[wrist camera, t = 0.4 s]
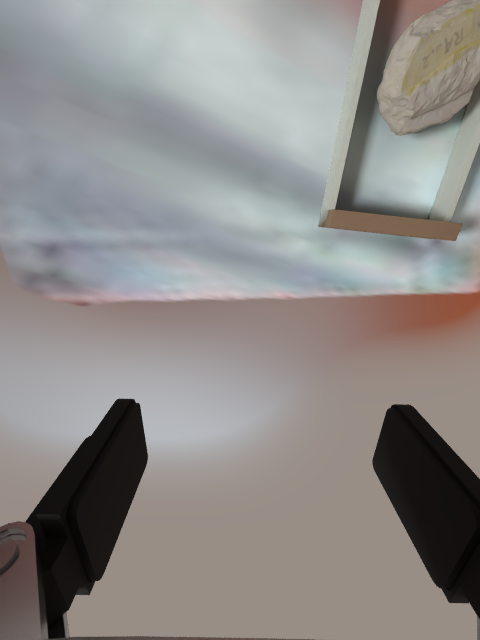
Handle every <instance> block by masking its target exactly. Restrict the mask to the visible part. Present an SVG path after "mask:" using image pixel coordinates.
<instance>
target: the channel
mask: <svg viewBox="0 0 480 640" xmlns="http://www.w3.org/2000/svg"><path fill="white" fill-rule="evenodd" d="M379 3H380V0H363V4H362V9H361V14H360V19H359V24H358V29H357V34H356V39H355V44H354V49H353V54H352V59H351V64H350V69H349V74H348V79H347V84H346V89H345V94H344V99H343V104H342V109H341V114H340V119H339V124H338V129H337V134H336V139H335V144H334V149H333V155H332V160H331V165H330V170H329V175H328V180H327V185H326V190H325V195H324V200H323V205H322V210H321V215H320V220H319V225H318V227H326V228H335V229H344V230H354V231H363V232H372V233H382V234H391V235H400V236H410V237H419V238H429V239H440V240H451V241H456V239H457V236H458V234H459V231H460V228H461V226H462V223H453V222H450V221H451V218H452V216H453V213H454V210H455V208H456V205H457V202H458V200H459V197H460V194H461V192H462V189H463V186H464V184H465V181H466V178H467V176H468V173H469V170H470V168H471V165H472V162H473V160H474V157H475V154H476V152H477V149H478V146H479V144H480V80H479V82H478V83H477V85H476V86H475V87H474V90H473V92H472V95H471V98H470V101H469V103H468V106H467V109H466V112H465V115H464V117H463V120H462V123H461V126H460V129H459V132H458V135H457V138H456V141H455V144H454V146H453V149H452V152H451V155H450V158H449V161H448V164H447V167H446V170H445V173H444V176H443V178H442V181H441V184H440V187H439V190H438V193H437V196H436V199H435V202H434V205H433V208H432V210H431V213H430V216H429V219H428V220H426V219H417V218H408V217H398V216H389V215H380V214H371V213H362V212H353V211H344V210H335V206H336V202H337V197H338V193H339V188H340V183H341V179H342V174H343V169H344V165H345V160H346V156H347V151H348V146H349V142H350V137H351V132H352V128H353V123H354V119H355V114H356V109H357V105H358V100H359V95H360V91H361V86H362V82H363V77H364V72H365V68H366V63H367V58H368V54H369V49H370V45H371V40H372V35H373V31H374V26H375V21H376V17H377V12H378V8H379Z"/></svg>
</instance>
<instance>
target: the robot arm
mask: <svg viewBox="0 0 480 640" xmlns="http://www.w3.org/2000/svg"><path fill="white" fill-rule="evenodd" d="M147 460H148V453H147V447H146V442H145V434H144V428H143V421H142V416H141V409H140V404H139V403H136V402H135V400H134V399H117V400H116V401H115V403H114V404H113V405H112V407H111V408H110V410H109V411H108V413H107V414H106V415H105V417H104V418H103V420H102V421H101V422H100V424H99V425H98V427H97V428H96V430H95V431H94V432H93V434H92V435H91V436H89V437H88V438H86V439H85V440H84V441H83V443H82V444H81V445H80V447H79V448H78V450H77V451H76V452H75V454H74V455H73V456H72V458H71V459H70V461H69V462H68V463H67V465H66V466H65V468H64V469H63V470H62V472H61V473H60V475H59V476H58V477H57V479H56V480H55V481H54V483H53V484H52V486H51V487H50V488H49V490H48V491H47V493H46V494H45V496H44V497H43V498H42V500H41V501H40V502H39V504H38V505H37V507H36V508H35V509H34V511H33V512H32V513H31V515H30V516H29V518H28V519H27V520H26V522H20V521H18V522H13V523H8V524H6V525H4V526H1V527H0V640H311V639H266V638H210V637H208V638H207V637H148V636H134V637H133V636H130V637H128V636H127V637H69V629H68V621H67V614H66V611H68V610H69V608H70V606H71V603H72V602H73V599H74V597H75V595H90V593H91V590H92V588H93V585H94V583H95V581H99V580H100V579H101V578H102V576H103V574H104V572H105V569H106V567H107V564H108V562H109V559H110V556H111V554H112V551H113V549H114V546H115V544H116V541H117V539H118V536H119V534H120V531H121V528H122V526H123V523H124V520H125V518H126V516H127V513H128V510H129V508H130V505H131V503H132V500H133V498H134V495H135V493H136V490H137V488H138V485H139V483H140V480H141V477H142V475H143V472H144V470H145V467H146V464H147ZM373 467H374V470H375V472H376V474H377V476H378V478H379V480H380V482H381V484H382V486H383V488H384V489H385V491H386V493H387V495H388V497H389V499H390V501H391V503H392V504H393V506H394V508H395V510H396V512H397V514H398V516H399V518H400V520H401V522H402V523H403V525H404V527H405V529H406V531H407V533H408V535H409V537H410V539H411V540H412V542H413V544H414V546H415V548H416V550H417V552H418V553H419V555H420V558H421V559H422V561H423V563H424V565H425V567H426V569H427V571H428V573H429V574H430V576H431V578H432V580H433V582H434V583H435V584H436V586H438V587H439V588H441V589H442V590H443V592H444V594H445V596H446V597H447V600H448V601H449V603H469V602H470V604H471V606H472V607H473V609H474V611H475V613H476V614H477V640H480V479H479V478H478V477H477V476H476V475H475V473H474V472H472V470H471V469H470V468H469V467H468V466H467V465H466V464H465V463H464V461H463V460H462V459H461V458H460V457H459V456H458V455H457V454H456V453H455V452H454V451H453V450H452V448H451V447H450V446H449V445H448V444H447V443H446V442H445V441H444V440H443V439H442V438H441V437H440V435H439V434H438V433H437V432H436V431H435V430H434V429H433V428H432V427H431V426H430V425H429V423H428V422H427V421H426V420H425V419H424V418H423V417H422V416H421V415H420V414H419V413H418V411H417V410H416V409H415V408H414V407H413V406H411V405H392V406H391V408H389V409H388V410H387V412H386V415H385V419H384V422H383V426H382V429H381V432H380V436H379V440H378V443H377V447H376V450H375V453H374V457H373ZM312 640H313V639H312Z"/></svg>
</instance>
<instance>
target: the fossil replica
mask: <svg viewBox="0 0 480 640" xmlns="http://www.w3.org/2000/svg"><path fill="white" fill-rule="evenodd" d="M479 80H480V0H451V1H449V2H448V3H446V4H444V5H443V6H441V7H439V8H437V9H435V10H433V11H432V12H430V13H428V14H425V15H423V16H421V17H420V18H419V19H417V20H416V21H413V22H412V23H411V25H410V26H409V28H408V29H407V30H406V31H405V32H404V33H403V34H402V35H401V37H400V38H399V39H398V41H397V42H396V43H395V45H394V47H393V49H392V51H391V53H390V56H389V58H388V60H387V62H386V66H385V69H384V71H383V81H382V82H381V84H380V86H379V88H378V90H377V100H378V103H379V104H380V106H379V109H380V114H381V116H382V118H383V119H385V121H386V122H387V123H388V125H389V127H390V129H391V131H392V132H394V133H395V134H396V135H405V134H410V133H418V132H420V131H422V130H423V129H424V128H427V127H429V126H432V125H437V124H444V123H446V122H447V121H448V120H450V119H451V118H452V116H454V115H455V114H456V113H457V112H459V111H460V110H461V109H462V108H463V107H464V106H466V105H467V104H468V103H469V101H470V98H471V95H472V92H473V90H474V87H475V86H476V85H477V83H478V82H479Z"/></svg>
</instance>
